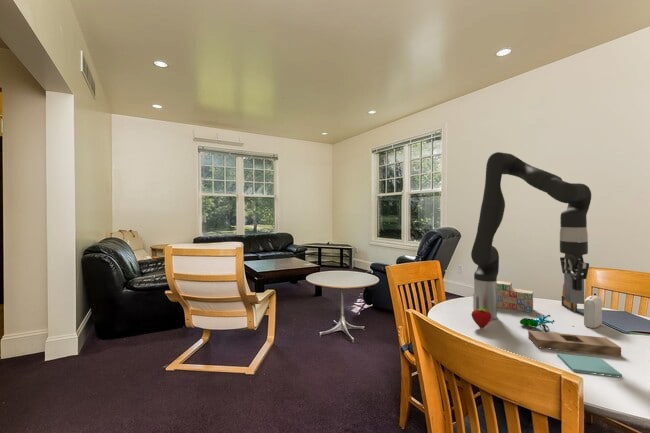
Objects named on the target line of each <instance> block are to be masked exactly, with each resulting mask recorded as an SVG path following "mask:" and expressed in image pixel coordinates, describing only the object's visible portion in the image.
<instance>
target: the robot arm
mask: <svg viewBox="0 0 650 433" xmlns="http://www.w3.org/2000/svg"><path fill="white" fill-rule="evenodd" d="M503 175H509V176H513V177H516V178H519V179H522V180H523V181H524V182H525V183H527V184H528V185H529V186H530V187H533V188H535V189H536V190H539V191H542V192H544V193H545V194H547V195H548V196H550V197H551V198H553V200H555V201H556V202H557V201H558V202H560V203H564V204H567V206H566V207H567V208H566V209H565V210H564V211H562V212H561V213H560V216H559V218H560V221H559V222H560V228H559V253H561V254H564V256H563V257H562V256H561V257H560V258H559V260H560V265H561V267H560V268H561V271H562V274H564V272H570V273H572V274H573V289H574V290H576V291H581V290H582V280H583V279H584V280H587V277H588V273H589V269H590V268H589V267H590V263H589V262H585V260H584V257H583V256H584V255H588V254H589V234H588V229H587V228H588V227H587V221H588V220H587V214H588V211H589V209H590V205H591V201H592V191H591V189H590V187H589V186H588V185H586V184H584V183H579V182H578V183H577V182H576V183H574V182H573V183H571V182H568V181H564V180H563V179H562V178H561V177H560V176H558V175H556V174H554V173H551V172H549V171H546V170H544V169H540V168H538V167H535V166H532V165H531V164H529V163H526V162H525V161H523V160H522V159H520V158H518V157H517V156H515V155H514V154H512V153H507V152H501V151H496V152H493V153H491V154H490V156H489V157H488V159H487V162H486V167H485V180H484V190H483V196H482V202H481V206H480V211H479V218H478V224H477V229H476V230H477V231H476V235H475V239H474V243H473V245H472V248H471V252H470V255H471V261H472V262H473V263H474V264H475V265H477V268H476V270H475V271H474V273H473V274H474V275H473V277H474V278H473V281H474V282H473V283H474V285H473V288H474V289H473V292H474V293H473V294H472V296H473V297H472V300H473V301H472V303H473V304H472V307H473V308H472V309H473V311H474V310H475V308H478V309H480V308H481V307H482V306H483V307H482V308H483V309H486V310H489V311H488V312H489V313H490V314H491V320H496V319H498V307H497V281H498V275H499V271H500V270H499V268H500V255H499V252H498V249H497V248H496V247H495V246H493V242H494V237H495V235H496V233H497V231H498V229H499V227H500V225H501V223H502V221H503V218H504V213H505V209H506V201H505V198H504V195H503V191H502V186H501V182H502V177H503ZM481 304H482V305H481ZM473 311H472V312H473Z"/></svg>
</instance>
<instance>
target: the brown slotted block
mask: <svg viewBox="0 0 650 433" xmlns="http://www.w3.org/2000/svg"><path fill="white" fill-rule="evenodd" d="M527 336H528V339H529V341H530V340H531V341H532V342H533V343H532V342H531V341H530V342H531V343H532V344H533V345H534V346H535V348H537V347H541V348H540V349H544V348H551V349H550V350H554V349H558V350H557V351H564V350H565V351H566V352H572V353H573V352H574V353H575V352H576V353H585V354H594V355H604V356H613V357H622V347H621V346H619V345H618V344H616V342H613V341H612V340H610V339H609V338H607V337H601V336H592V335H591V336H590V335H580V334H569V333H560V332H548V331H547V332H545V331H535V330H528V335H527Z"/></svg>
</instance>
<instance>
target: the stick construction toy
mask: <svg viewBox="0 0 650 433" xmlns="http://www.w3.org/2000/svg"><path fill="white" fill-rule="evenodd" d="M535 316H536V317H537V318H536V319H535V318H534V319H533V318H528V317H526V318H525V317H524V318H521V319H520V320H519V323H520V325H522V326H525V327H526V326H527V327H528V328H529V329H530V330H533V328H532V327H534V328H537V327H539V328H541V327H542V328H543V332H548V330H547V329H549V325H547V324H550V323H551V325H553V324H554V323H555V322H556V321H555V319H553V320H548V319H547V318H548V317H549V318H551V314H548V315H545V314H542V316H543V317H541V316H539V315H538V314H537V313H535Z"/></svg>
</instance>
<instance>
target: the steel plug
mask: <svg viewBox="0 0 650 433" xmlns="http://www.w3.org/2000/svg"><path fill="white" fill-rule="evenodd" d="M563 277H564V278H563V284H564V300H566V301H567V302H569V303H575V304H577V305H580V304H581V305H584V301H585V279H583V280H582V290H581V291H576V290H574V289H573V274H572V273H570V272H564V273H563Z"/></svg>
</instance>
